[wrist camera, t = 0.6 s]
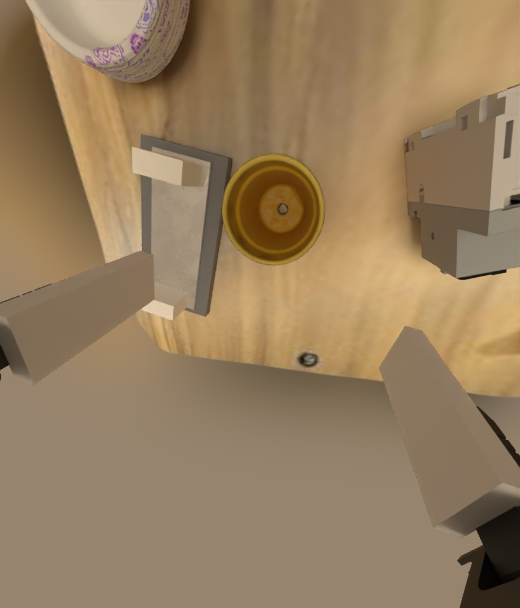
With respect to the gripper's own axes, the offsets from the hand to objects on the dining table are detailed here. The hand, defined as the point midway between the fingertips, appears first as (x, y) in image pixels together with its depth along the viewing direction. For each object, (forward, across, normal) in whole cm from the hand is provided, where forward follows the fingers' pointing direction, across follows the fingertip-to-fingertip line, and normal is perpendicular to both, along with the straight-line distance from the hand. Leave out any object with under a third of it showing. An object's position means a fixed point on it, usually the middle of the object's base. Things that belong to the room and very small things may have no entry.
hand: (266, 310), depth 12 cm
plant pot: (+24, -3, +2) cm, 24 cm away
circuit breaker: (+24, +15, +8) cm, 29 cm away
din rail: (+22, -17, -5) cm, 28 cm away
